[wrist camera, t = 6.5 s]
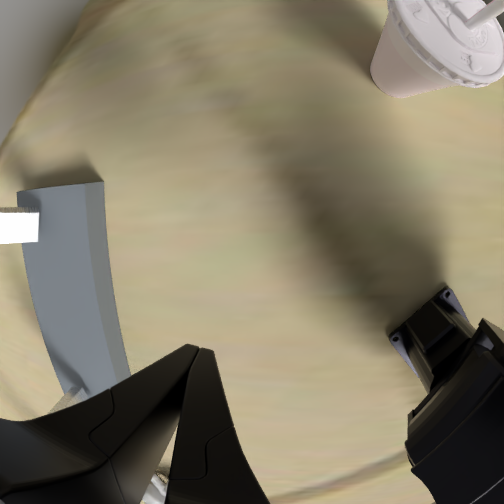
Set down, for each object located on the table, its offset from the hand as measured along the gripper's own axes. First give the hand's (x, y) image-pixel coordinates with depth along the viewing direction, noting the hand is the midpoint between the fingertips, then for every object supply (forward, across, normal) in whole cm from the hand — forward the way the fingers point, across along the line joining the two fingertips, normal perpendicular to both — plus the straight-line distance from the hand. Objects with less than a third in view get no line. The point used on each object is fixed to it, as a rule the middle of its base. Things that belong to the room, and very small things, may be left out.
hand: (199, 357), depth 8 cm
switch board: (+13, +14, +10) cm, 22 cm away
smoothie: (+13, -8, -15) cm, 21 cm away
